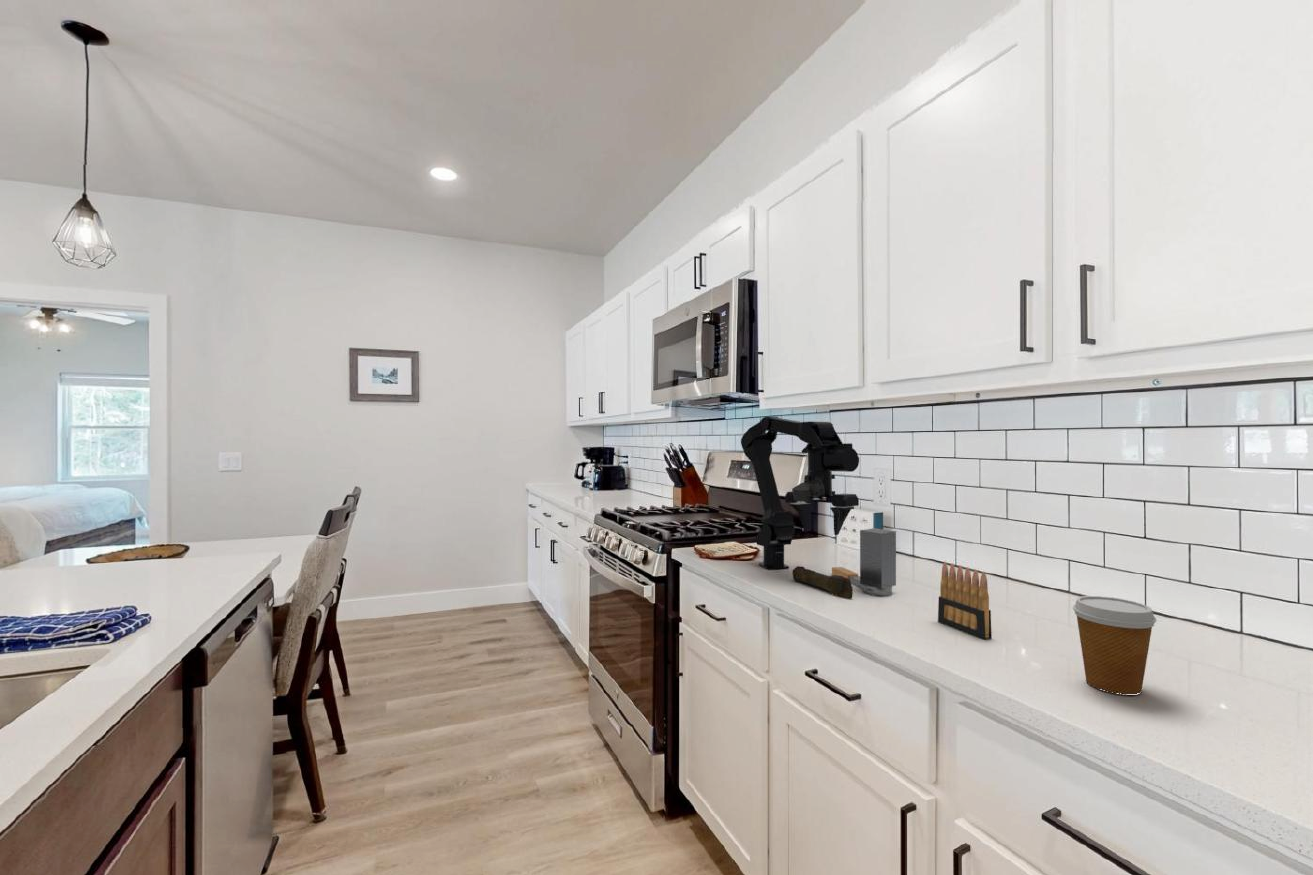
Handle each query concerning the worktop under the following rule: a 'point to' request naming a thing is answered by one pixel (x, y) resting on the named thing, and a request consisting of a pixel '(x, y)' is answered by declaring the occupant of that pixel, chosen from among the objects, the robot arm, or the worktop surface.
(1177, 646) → the worktop surface
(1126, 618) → the disposable coffee cup
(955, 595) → the ammunition clip
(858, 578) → the ratchet
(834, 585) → the hand tool
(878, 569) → the grey metal square prism
